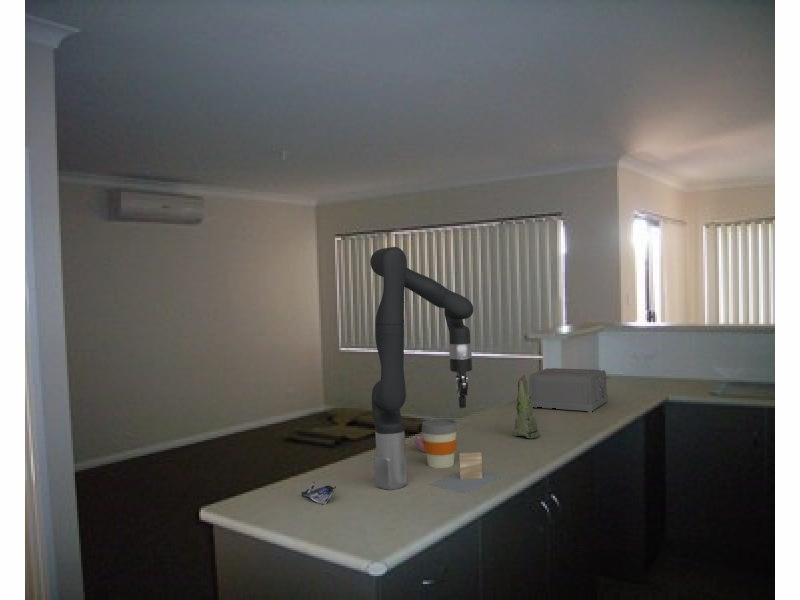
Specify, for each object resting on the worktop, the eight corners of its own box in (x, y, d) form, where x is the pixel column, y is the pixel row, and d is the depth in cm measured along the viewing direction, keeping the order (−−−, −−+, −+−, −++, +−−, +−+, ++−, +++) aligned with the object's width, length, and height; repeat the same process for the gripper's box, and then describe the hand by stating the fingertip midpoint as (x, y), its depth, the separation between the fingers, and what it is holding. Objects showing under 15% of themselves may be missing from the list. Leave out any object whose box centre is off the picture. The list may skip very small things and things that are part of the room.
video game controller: (432, 450, 239) (425, 433, 240) (440, 446, 236) (433, 429, 238) (417, 455, 231) (410, 438, 233) (425, 452, 228) (418, 434, 230)
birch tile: (482, 478, 193) (481, 453, 193) (460, 479, 193) (459, 454, 193) (481, 476, 195) (480, 451, 195) (459, 477, 195) (458, 452, 195)
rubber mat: (467, 495, 179) (467, 493, 179) (428, 485, 189) (428, 484, 189) (504, 478, 194) (504, 476, 194) (466, 470, 204) (466, 469, 204)
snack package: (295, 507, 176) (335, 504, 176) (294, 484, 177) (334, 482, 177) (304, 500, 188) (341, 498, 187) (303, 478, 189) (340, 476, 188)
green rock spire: (523, 441, 240) (520, 378, 240) (506, 435, 251) (503, 375, 251) (545, 437, 245) (543, 375, 244) (528, 431, 255) (525, 372, 255)
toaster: (600, 413, 287) (598, 377, 286) (528, 408, 306) (527, 374, 306) (616, 402, 312) (614, 369, 312) (549, 398, 332) (547, 367, 332)
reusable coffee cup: (417, 469, 208) (416, 425, 208) (429, 459, 220) (427, 418, 219) (452, 471, 203) (451, 427, 203) (463, 461, 215) (461, 419, 215)
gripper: (447, 355, 212) (449, 404, 212) (452, 359, 199) (454, 411, 199) (468, 354, 213) (470, 403, 213) (474, 358, 199) (476, 410, 199)
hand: (462, 407), depth 206 cm, fingers closed
